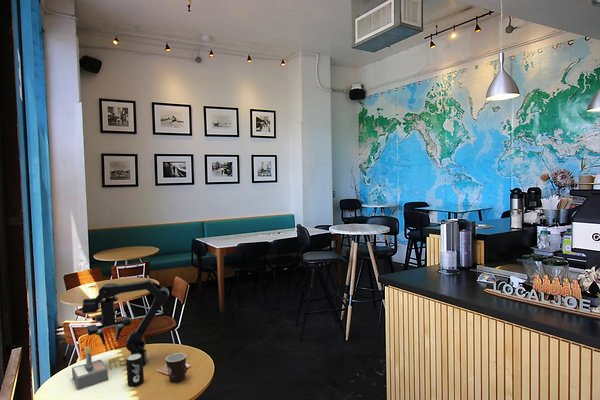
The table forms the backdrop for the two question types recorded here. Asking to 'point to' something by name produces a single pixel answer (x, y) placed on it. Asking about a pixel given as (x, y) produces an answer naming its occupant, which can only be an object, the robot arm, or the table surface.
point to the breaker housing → (89, 374)
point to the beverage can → (135, 370)
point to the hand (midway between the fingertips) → (110, 343)
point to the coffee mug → (176, 367)
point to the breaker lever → (88, 357)
